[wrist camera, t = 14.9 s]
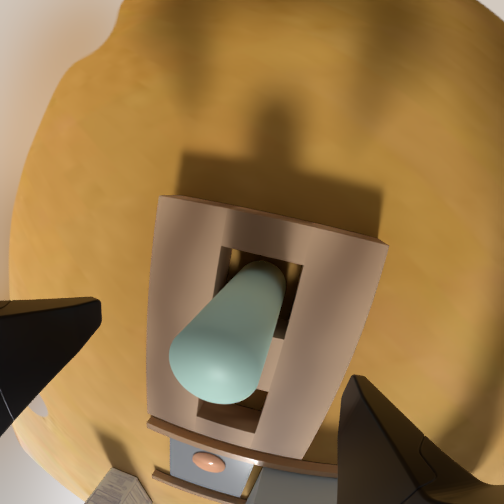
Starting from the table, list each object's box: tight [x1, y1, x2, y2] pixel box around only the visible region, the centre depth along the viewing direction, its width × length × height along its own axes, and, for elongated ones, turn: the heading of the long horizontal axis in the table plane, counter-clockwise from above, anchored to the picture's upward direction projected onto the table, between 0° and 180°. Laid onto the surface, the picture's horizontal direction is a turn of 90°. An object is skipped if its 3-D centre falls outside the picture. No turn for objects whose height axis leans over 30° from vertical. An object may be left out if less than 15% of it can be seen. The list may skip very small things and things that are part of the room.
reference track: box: [147, 416, 338, 504], centre depth 21 cm, size 20×11×1 cm, turn 79°
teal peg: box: [169, 261, 286, 404], centre depth 13 cm, size 3×3×9 cm
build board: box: [146, 195, 389, 460], centre depth 17 cm, size 12×16×2 cm
